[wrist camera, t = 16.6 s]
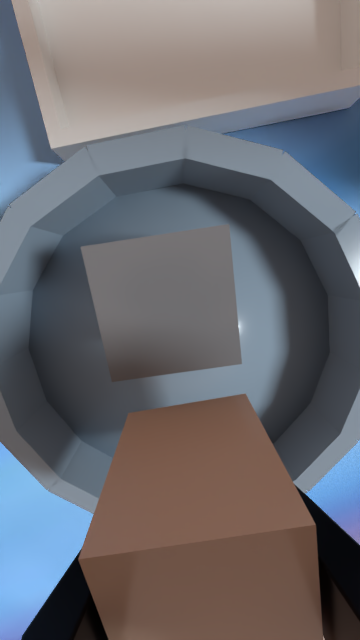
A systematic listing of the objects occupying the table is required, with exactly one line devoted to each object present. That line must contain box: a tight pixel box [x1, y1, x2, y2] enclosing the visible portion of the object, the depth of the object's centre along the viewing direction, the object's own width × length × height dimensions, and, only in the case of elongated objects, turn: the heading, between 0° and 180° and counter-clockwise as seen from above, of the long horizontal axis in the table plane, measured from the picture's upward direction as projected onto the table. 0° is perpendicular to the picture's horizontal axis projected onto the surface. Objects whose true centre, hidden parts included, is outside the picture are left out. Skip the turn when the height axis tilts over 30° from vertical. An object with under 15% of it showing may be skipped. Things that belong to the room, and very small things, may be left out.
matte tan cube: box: [78, 393, 323, 640], centre depth 7 cm, size 4×4×4 cm
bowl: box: [0, 125, 360, 514], centre depth 11 cm, size 18×18×3 cm
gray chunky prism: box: [81, 224, 242, 382], centre depth 10 cm, size 4×4×4 cm
